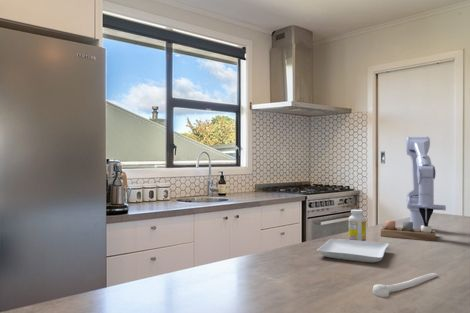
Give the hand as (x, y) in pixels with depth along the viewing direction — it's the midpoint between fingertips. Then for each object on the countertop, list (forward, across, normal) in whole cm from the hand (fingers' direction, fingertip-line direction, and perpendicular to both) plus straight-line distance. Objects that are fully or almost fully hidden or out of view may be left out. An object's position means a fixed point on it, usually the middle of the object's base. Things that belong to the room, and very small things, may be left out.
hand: (426, 226), depth 161 cm
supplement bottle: (+5, -25, -22) cm, 33 cm away
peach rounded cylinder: (+2, -14, 0) cm, 14 cm away
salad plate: (+6, -23, -42) cm, 49 cm away
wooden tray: (+5, -7, 0) cm, 8 cm away
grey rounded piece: (+2, -7, 0) cm, 7 cm away
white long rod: (+6, -5, -68) cm, 68 cm away
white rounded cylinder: (+3, 0, 0) cm, 3 cm away
